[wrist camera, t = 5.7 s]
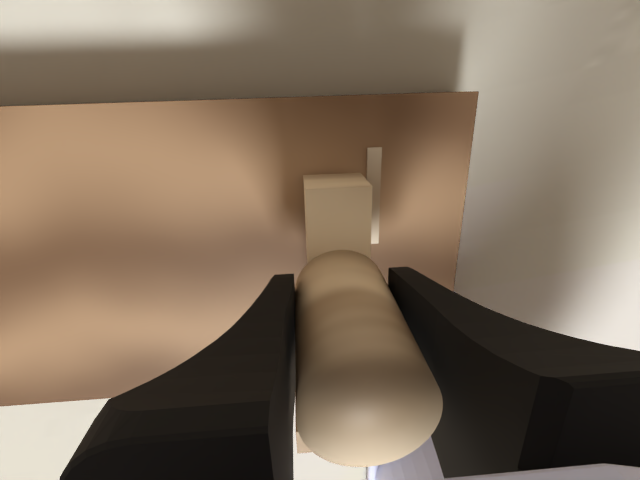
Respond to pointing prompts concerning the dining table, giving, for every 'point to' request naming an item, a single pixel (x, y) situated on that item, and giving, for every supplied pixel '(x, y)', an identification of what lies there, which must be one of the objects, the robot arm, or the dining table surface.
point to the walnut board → (197, 220)
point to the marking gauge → (354, 339)
